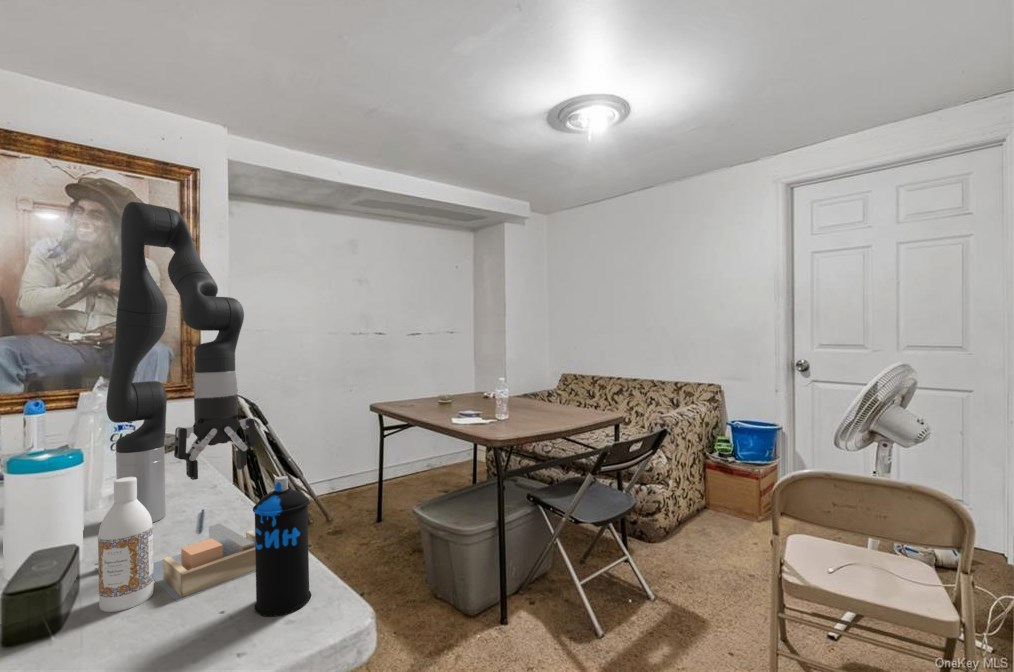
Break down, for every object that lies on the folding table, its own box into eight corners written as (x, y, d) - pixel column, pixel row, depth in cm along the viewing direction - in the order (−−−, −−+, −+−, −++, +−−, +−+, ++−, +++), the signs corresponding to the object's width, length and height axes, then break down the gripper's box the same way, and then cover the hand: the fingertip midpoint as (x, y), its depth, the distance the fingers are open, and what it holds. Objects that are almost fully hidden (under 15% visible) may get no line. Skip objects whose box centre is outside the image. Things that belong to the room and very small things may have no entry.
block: (181, 575, 85) (181, 547, 85) (212, 564, 89) (211, 538, 89) (191, 584, 82) (191, 555, 82) (223, 572, 86) (222, 544, 86)
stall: (163, 580, 84) (162, 558, 84) (251, 550, 95) (251, 530, 95) (183, 599, 77) (182, 574, 77) (275, 563, 89) (274, 542, 89)
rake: (162, 563, 90) (162, 540, 90) (219, 544, 98) (219, 523, 98) (193, 589, 80) (192, 563, 80) (254, 566, 88) (253, 542, 88)
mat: (140, 567, 89) (140, 566, 89) (237, 537, 102) (237, 536, 102) (177, 602, 76) (177, 601, 76) (281, 562, 90) (281, 561, 90)
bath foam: (88, 617, 73) (86, 487, 73) (115, 593, 80) (113, 475, 80) (140, 610, 74) (138, 483, 75) (161, 587, 81) (159, 471, 81)
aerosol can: (271, 588, 80) (269, 471, 80) (319, 588, 80) (317, 470, 80) (243, 617, 72) (240, 485, 72) (296, 617, 71) (293, 485, 72)
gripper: (245, 389, 104) (246, 463, 104) (168, 396, 93) (170, 479, 92) (260, 391, 99) (262, 468, 99) (181, 398, 88) (183, 486, 88)
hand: (217, 473), depth 96 cm, fingers open, 8 cm apart
